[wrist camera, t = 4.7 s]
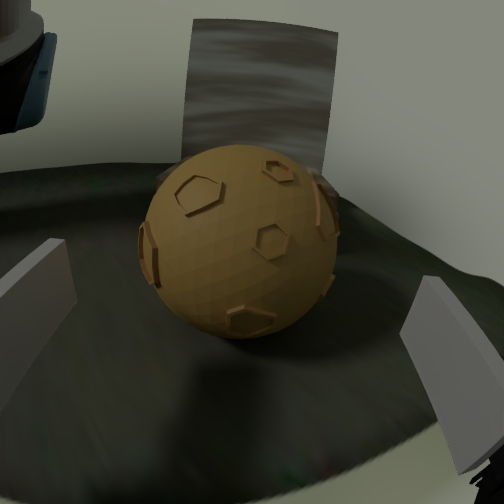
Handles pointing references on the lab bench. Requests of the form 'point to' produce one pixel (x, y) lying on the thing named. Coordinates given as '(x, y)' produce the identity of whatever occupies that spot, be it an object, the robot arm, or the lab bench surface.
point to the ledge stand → (259, 91)
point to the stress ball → (240, 241)
